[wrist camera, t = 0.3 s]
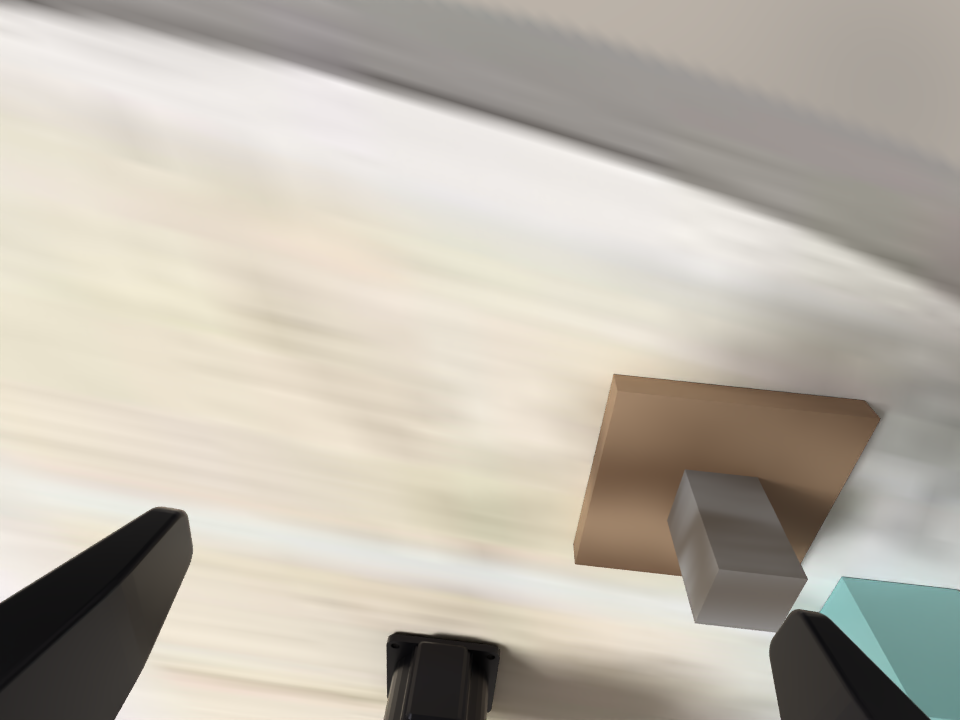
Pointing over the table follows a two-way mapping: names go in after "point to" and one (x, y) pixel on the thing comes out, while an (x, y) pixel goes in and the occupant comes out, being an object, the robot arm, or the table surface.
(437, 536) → the table surface
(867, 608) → the teal block
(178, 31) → the table surface
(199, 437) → the table surface
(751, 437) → the post board
